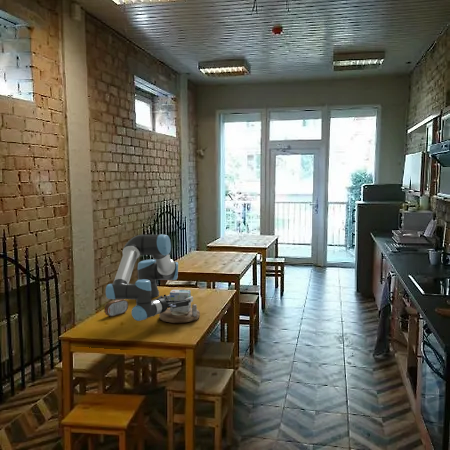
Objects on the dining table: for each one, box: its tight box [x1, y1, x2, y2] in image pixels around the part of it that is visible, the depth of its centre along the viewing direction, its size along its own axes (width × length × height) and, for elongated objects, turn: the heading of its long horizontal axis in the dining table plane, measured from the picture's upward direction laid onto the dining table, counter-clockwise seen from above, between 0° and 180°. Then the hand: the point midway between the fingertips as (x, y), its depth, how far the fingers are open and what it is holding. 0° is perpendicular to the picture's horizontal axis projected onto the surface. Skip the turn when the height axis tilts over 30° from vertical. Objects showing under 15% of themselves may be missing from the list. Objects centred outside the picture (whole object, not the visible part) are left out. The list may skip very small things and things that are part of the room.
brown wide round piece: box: [158, 303, 201, 324], centre depth 249 cm, size 22×22×8 cm
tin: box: [104, 299, 129, 318], centre depth 256 cm, size 15×3×8 cm, turn 141°
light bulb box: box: [169, 289, 192, 312], centre depth 250 cm, size 11×7×11 cm, turn 84°
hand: (183, 297), depth 252 cm, fingers closed on light bulb box, 12 cm apart
